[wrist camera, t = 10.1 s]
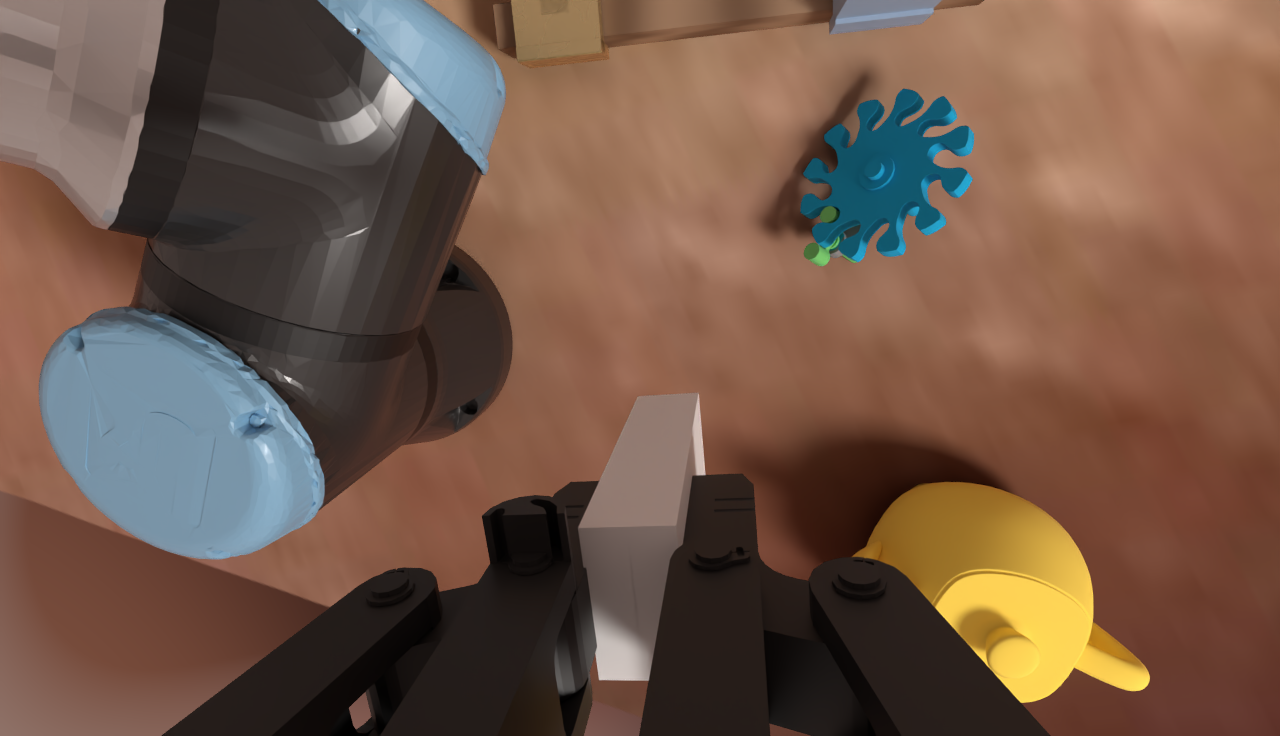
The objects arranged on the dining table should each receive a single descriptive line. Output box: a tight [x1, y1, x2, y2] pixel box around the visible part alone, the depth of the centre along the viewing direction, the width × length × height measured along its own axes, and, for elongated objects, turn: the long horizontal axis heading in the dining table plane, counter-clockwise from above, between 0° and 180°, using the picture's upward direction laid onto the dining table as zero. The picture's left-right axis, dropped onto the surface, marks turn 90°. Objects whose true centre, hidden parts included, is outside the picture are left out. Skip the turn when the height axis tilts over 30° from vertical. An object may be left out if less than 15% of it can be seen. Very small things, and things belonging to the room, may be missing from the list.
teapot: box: [852, 482, 1150, 702], centre depth 41 cm, size 14×14×12 cm
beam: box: [493, 0, 984, 58], centre depth 38 cm, size 28×2×3 cm, turn 95°
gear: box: [801, 89, 974, 266], centre depth 39 cm, size 11×6×10 cm
